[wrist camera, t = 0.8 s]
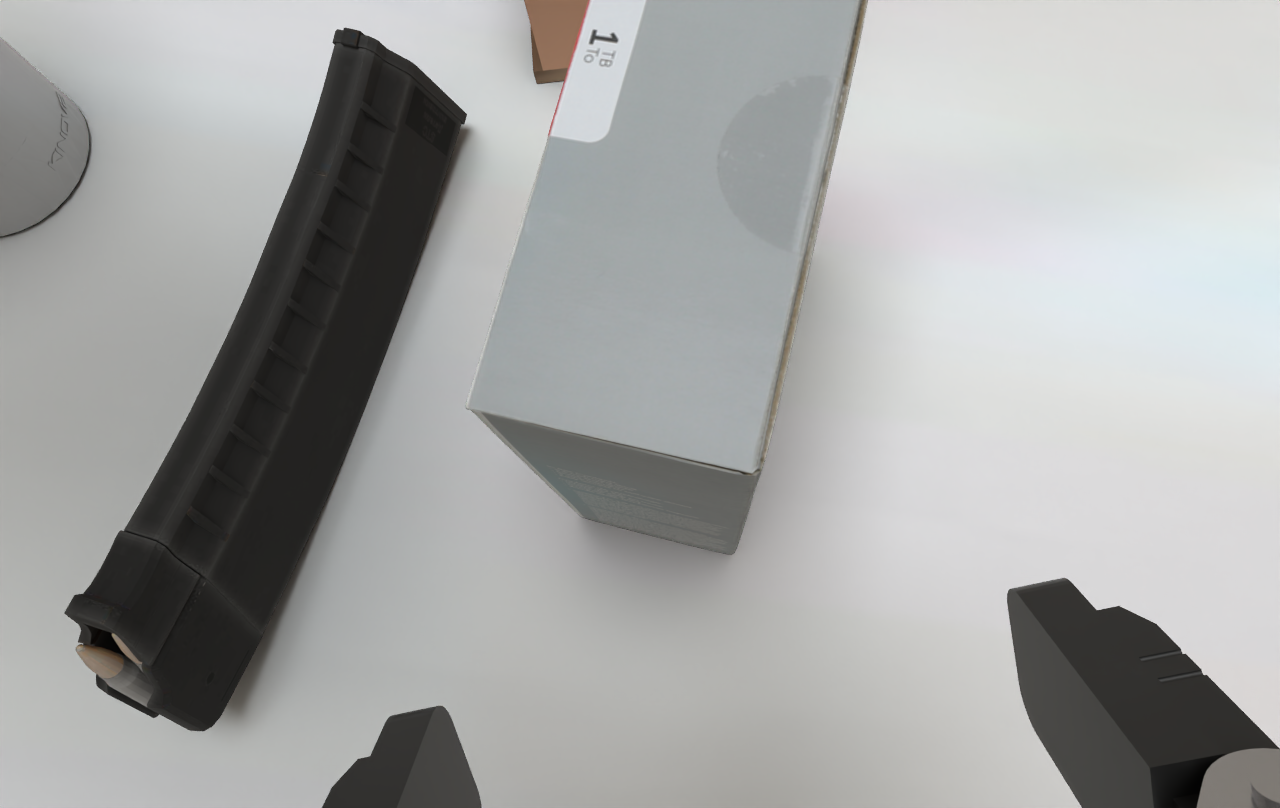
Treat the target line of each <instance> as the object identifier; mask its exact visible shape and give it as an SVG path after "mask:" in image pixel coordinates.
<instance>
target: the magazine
mask: <svg viewBox="0 0 1280 808" xmlns="http://www.w3.org/2000/svg"><path fill="white" fill-rule="evenodd" d="M333 44H335V46H334V49H333V53H332V57H331V61H330V64H329V68H328V72H327V76H326V79H325V83H324V87H323V91H322V93H321V97H320V101H319V104H318V107H317V110H316V113H315V116H314V120H313V123H312V126H311V129H310V132H309V135H308V138H307V141H306V144H305V147H304V149H303V152H302V155H301V158H300V161H299V164H298V166H297V169H296V171H295V174H294V177H293V179H292V182H291V184H290V186H289V189H288V191H287V194H286V196H285V199H284V201H283V203H282V206H281V208H280V211H279V213H278V215H277V218H276V221H275V223H274V226H273V228H272V231H271V233H270V236H269V238H268V241H267V243H266V246H265V248H264V250H263V253H262V256H261V258H260V261H259V263H258V266H257V268H256V271H255V273H254V276H253V278H252V280H251V283H250V285H249V288H248V290H247V292H246V295H245V297H244V299H243V302H242V304H241V306H240V308H239V311H238V313H237V315H236V317H235V320H234V322H233V324H232V326H231V329H230V330H229V333H228V335H227V337H226V339H225V341H224V343H223V345H222V347H221V350H220V352H219V354H218V356H217V358H216V360H215V362H214V364H213V366H212V368H211V370H210V372H209V374H208V376H207V378H206V380H205V382H204V384H203V387H202V389H201V391H200V393H199V395H198V397H197V399H196V401H195V403H194V405H193V407H192V409H191V411H190V413H189V415H188V417H187V419H186V421H185V422H184V424H183V426H182V428H181V430H180V432H179V434H178V435H177V437H176V439H175V441H174V443H173V445H172V447H171V448H170V450H169V452H168V454H167V456H166V457H165V459H164V461H163V463H162V465H161V467H160V468H159V470H158V472H157V474H156V476H155V477H154V479H153V481H152V483H151V485H150V486H149V488H148V490H147V492H146V493H145V495H144V497H143V498H142V501H141V502H140V504H139V506H138V507H137V509H136V511H135V513H134V514H133V516H132V518H131V519H130V521H129V523H128V525H127V526H126V528H125V530H124V531H120V532H119V533H118V535H117V536H116V538H115V540H114V543H113V545H112V547H111V549H110V551H109V553H108V555H107V557H106V559H105V561H104V563H103V565H102V567H101V569H100V570H99V572H98V573H97V575H96V577H95V578H94V580H93V582H92V583H91V585H90V586H89V587H88V588H87V590H86V591H85V592H84V593H83V594H78V595H75V596H74V597H73V599H72V601H71V602H70V604H69V606H68V608H67V609H66V611H65V614H66V615H67V616H68V617H70V618H71V619H72V620H74V621H75V622H76V623H78V624H79V625H80V628H81V634H80V637H79V640H78V642H79V643H83V645H82V644H80V645H78V646H77V647H76V652H77V653H78V655H79V656H80V657H81V659H82V660H83V662H84V663H85V664H86V665H87V666H88V667H89V668H90V669H91V670H92V671H93V672H95V673H96V684H97V686H98V687H99V688H100V689H102V690H103V691H104V692H106V693H107V694H108V695H110V696H112V697H114V698H116V699H118V700H120V701H122V702H124V703H126V704H128V705H130V706H132V707H133V708H135V709H137V710H139V711H141V712H143V713H145V714H147V715H149V716H151V717H153V718H155V717H157V716H158V715H159V714H160V715H162V716H164V717H166V718H167V719H169V720H171V721H173V722H175V723H177V724H179V725H181V726H182V727H184V728H186V729H188V730H192V731H205V730H207V729H209V728H210V727H212V726H213V725H214V724H215V722H216V721H217V720H218V719H219V718H220V716H221V715H222V713H223V711H224V709H225V707H226V705H227V703H228V701H229V699H230V698H231V696H232V694H233V692H234V690H235V688H236V686H237V684H238V682H239V680H240V678H241V676H242V675H243V673H244V671H245V669H246V667H247V665H248V663H249V661H250V659H251V657H252V655H253V653H254V652H255V650H256V648H257V646H258V644H259V642H260V640H261V638H262V634H263V632H264V630H265V628H266V626H267V624H268V622H269V620H270V618H271V616H272V614H273V611H274V609H275V607H276V605H277V603H278V601H279V599H280V597H281V595H282V593H283V591H284V589H285V586H286V584H287V582H288V580H289V578H290V576H291V574H292V571H293V569H294V567H295V565H296V563H297V561H298V559H299V556H300V554H301V552H302V550H303V548H304V546H305V544H306V541H307V539H308V537H309V535H310V533H311V531H312V529H313V527H314V524H315V522H316V520H317V518H318V516H319V514H320V512H321V509H322V507H323V505H324V503H325V501H326V499H327V496H328V494H329V492H330V490H331V487H332V485H333V483H334V480H335V478H336V476H337V473H338V471H339V469H340V466H341V464H342V462H343V460H344V457H345V455H346V452H347V450H348V448H349V445H350V443H351V440H352V438H353V435H354V433H355V431H356V428H357V426H358V423H359V421H360V418H361V416H362V414H363V411H364V408H365V406H366V403H367V401H368V398H369V395H370V393H371V390H372V388H373V385H374V382H375V380H376V377H377V375H378V372H379V369H380V367H381V364H382V361H383V358H384V356H385V353H386V350H387V348H388V345H389V342H390V340H391V337H392V334H393V331H394V329H395V326H396V323H397V320H398V317H399V314H400V312H401V309H402V306H403V303H404V300H405V297H406V294H407V291H408V288H409V285H410V282H411V280H412V277H413V274H414V271H415V268H416V265H417V262H418V259H419V256H420V253H421V250H422V246H423V243H424V240H425V237H426V234H427V231H428V227H429V224H430V221H431V218H432V215H433V212H434V209H435V205H436V202H437V199H438V196H439V193H440V190H441V186H442V183H443V180H444V177H445V174H446V171H447V167H448V164H449V161H450V158H451V155H452V152H453V149H454V145H455V142H456V139H457V136H458V133H459V130H460V126H461V124H465V120H466V116H467V114H466V113H465V112H464V111H463V110H462V109H461V108H460V107H459V106H458V105H457V104H456V103H455V102H454V101H453V100H451V99H450V98H449V97H448V96H447V95H446V94H445V93H444V92H443V91H442V90H441V89H440V88H439V87H438V86H437V85H436V84H435V83H434V82H433V81H432V80H431V79H430V78H429V77H428V76H426V75H425V74H424V73H423V72H422V71H421V70H420V69H419V68H418V67H417V66H416V65H415V64H413V63H412V62H410V61H409V60H407V59H405V58H403V57H401V56H399V55H398V54H396V53H394V52H392V51H390V50H388V49H387V48H386V47H385V46H383V45H382V44H381V43H380V42H379V41H378V40H376V39H374V38H372V37H370V36H366V35H364V34H363V33H362V32H361V31H358V30H353V29H349V28H344V30H338V29H337V30H336V31H335V35H334V39H333Z"/></svg>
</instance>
